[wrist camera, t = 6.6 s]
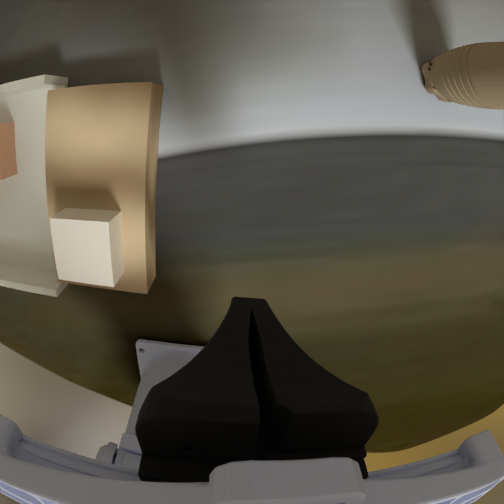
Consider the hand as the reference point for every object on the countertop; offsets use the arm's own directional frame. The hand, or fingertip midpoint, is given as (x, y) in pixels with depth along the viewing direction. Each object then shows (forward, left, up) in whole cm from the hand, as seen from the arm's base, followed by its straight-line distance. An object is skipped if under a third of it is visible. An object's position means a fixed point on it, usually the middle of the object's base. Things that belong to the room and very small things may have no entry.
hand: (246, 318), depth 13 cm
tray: (+3, +19, -9) cm, 21 cm away
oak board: (+3, +10, -9) cm, 13 cm away
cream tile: (0, +10, -6) cm, 11 cm away
